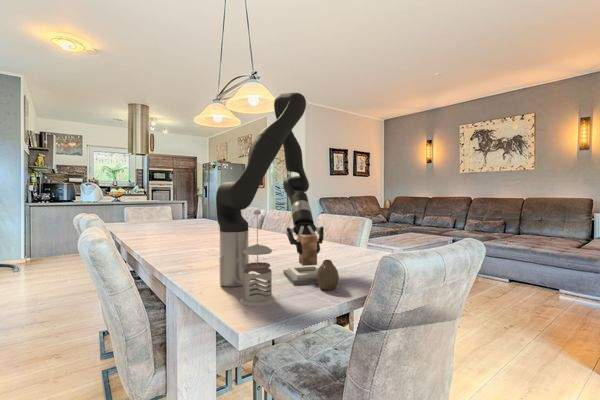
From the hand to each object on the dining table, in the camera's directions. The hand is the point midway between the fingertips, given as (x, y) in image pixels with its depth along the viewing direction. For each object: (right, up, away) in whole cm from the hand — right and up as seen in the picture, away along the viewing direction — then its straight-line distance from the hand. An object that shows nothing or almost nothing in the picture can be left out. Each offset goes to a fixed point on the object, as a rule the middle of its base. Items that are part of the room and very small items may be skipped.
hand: (309, 252), depth 106 cm
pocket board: (0, -9, +2) cm, 9 cm away
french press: (-16, -10, -20) cm, 28 cm away
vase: (+5, -10, -10) cm, 15 cm away
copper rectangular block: (0, -4, +2) cm, 5 cm away
